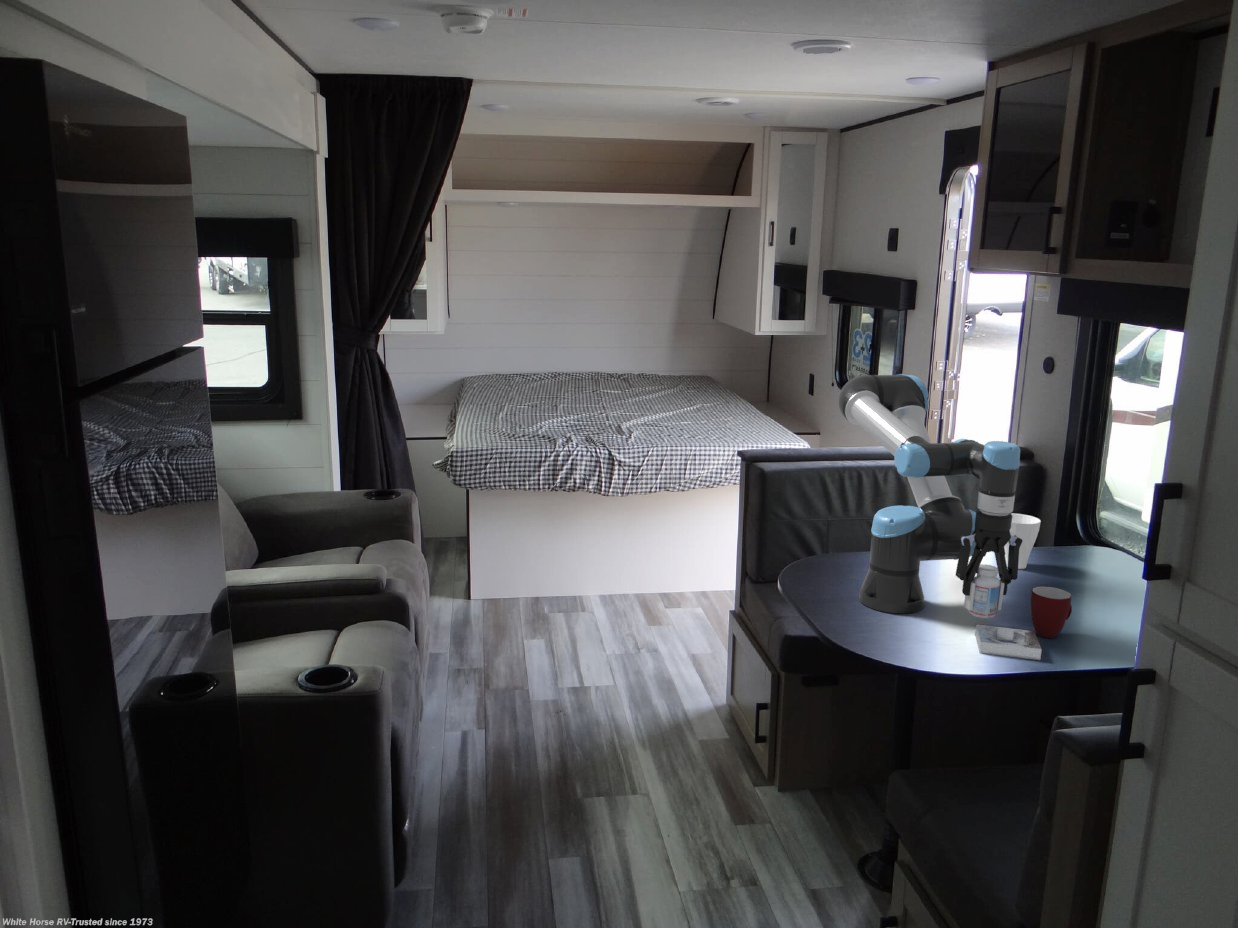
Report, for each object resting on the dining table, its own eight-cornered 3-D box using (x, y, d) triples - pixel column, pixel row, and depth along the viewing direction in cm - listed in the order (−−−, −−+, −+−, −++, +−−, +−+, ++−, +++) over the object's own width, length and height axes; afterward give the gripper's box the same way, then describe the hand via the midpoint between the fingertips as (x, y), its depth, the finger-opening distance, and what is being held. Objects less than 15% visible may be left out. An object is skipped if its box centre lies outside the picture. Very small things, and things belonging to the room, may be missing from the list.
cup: (1037, 564, 256) (1043, 517, 253) (1031, 574, 247) (1037, 526, 244) (997, 557, 261) (1003, 511, 258) (990, 567, 252) (995, 519, 249)
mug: (1047, 623, 214) (1052, 582, 212) (1080, 635, 207) (1086, 593, 205) (1019, 631, 208) (1024, 590, 206) (1051, 644, 202) (1057, 601, 200)
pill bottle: (988, 608, 214) (994, 563, 212) (1000, 619, 209) (1006, 572, 206) (963, 608, 214) (968, 562, 211) (973, 619, 208) (979, 572, 206)
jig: (979, 652, 197) (980, 641, 196) (975, 634, 206) (976, 624, 206) (1040, 660, 194) (1041, 649, 193) (1033, 641, 203) (1034, 631, 203)
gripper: (960, 516, 201) (948, 614, 207) (1044, 516, 203) (1030, 614, 208) (946, 506, 208) (935, 601, 214) (1027, 506, 210) (1014, 601, 215)
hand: (982, 607), depth 211 cm, fingers closed on pill bottle, 6 cm apart
